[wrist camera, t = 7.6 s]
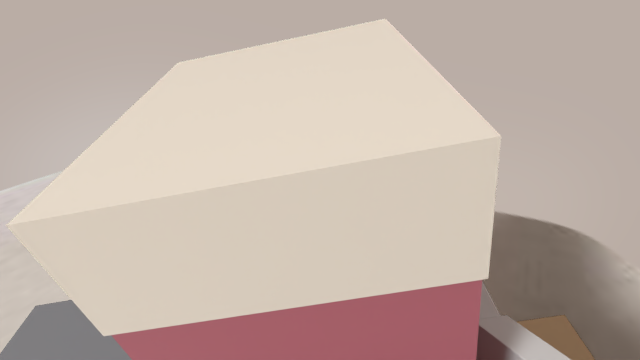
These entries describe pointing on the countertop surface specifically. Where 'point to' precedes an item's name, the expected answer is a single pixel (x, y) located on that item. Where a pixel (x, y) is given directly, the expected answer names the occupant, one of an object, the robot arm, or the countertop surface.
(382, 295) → the burgundy box
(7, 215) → the countertop surface
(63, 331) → the charcoal mat
